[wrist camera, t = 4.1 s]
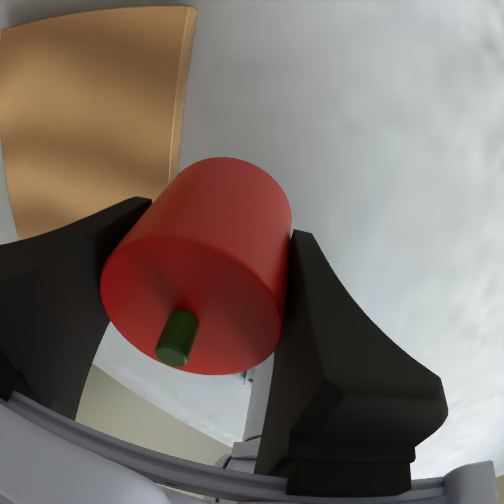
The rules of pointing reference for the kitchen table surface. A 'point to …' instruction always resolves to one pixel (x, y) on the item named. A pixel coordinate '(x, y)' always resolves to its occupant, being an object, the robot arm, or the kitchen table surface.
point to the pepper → (205, 270)
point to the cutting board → (92, 110)
